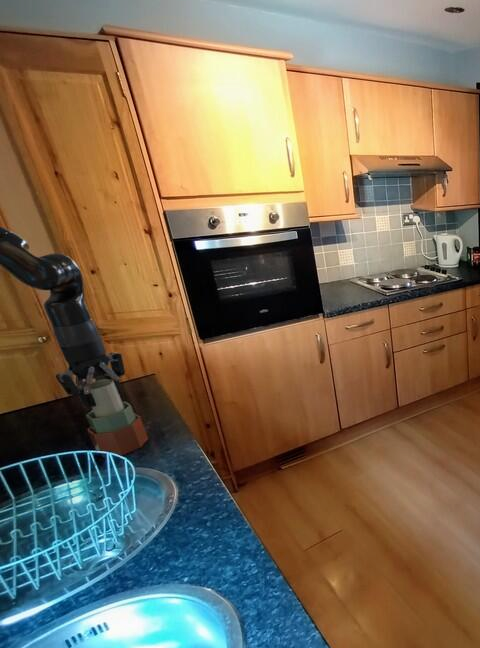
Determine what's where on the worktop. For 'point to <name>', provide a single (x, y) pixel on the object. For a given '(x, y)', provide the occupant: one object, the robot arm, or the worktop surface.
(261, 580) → the worktop surface
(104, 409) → the cup
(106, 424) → the cup stack
